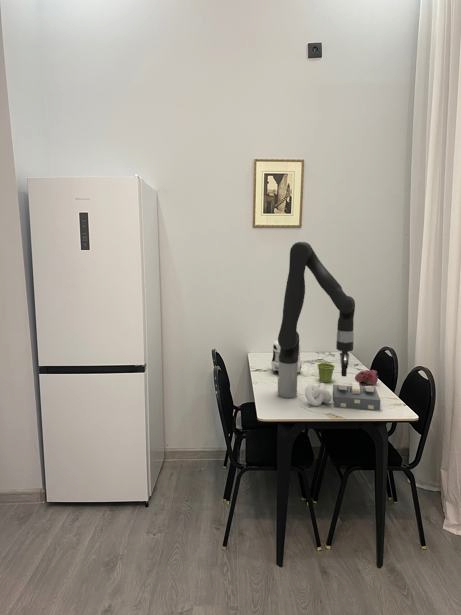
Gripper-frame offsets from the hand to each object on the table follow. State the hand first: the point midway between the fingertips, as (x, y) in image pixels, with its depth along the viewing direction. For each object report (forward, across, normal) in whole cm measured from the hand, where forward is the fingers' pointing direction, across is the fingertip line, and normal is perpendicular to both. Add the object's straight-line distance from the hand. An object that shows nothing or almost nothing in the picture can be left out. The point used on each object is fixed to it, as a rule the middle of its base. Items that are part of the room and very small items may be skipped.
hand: (343, 375), depth 186 cm
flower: (+14, -29, +14) cm, 35 cm away
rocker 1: (+6, -2, 0) cm, 7 cm away
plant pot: (+14, -30, -7) cm, 33 cm away
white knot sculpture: (+14, +2, -12) cm, 18 cm away
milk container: (+13, -41, -29) cm, 52 cm away
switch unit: (+13, -2, +6) cm, 15 cm away
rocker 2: (+6, -2, +6) cm, 9 cm away
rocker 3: (+6, -2, +12) cm, 14 cm away
